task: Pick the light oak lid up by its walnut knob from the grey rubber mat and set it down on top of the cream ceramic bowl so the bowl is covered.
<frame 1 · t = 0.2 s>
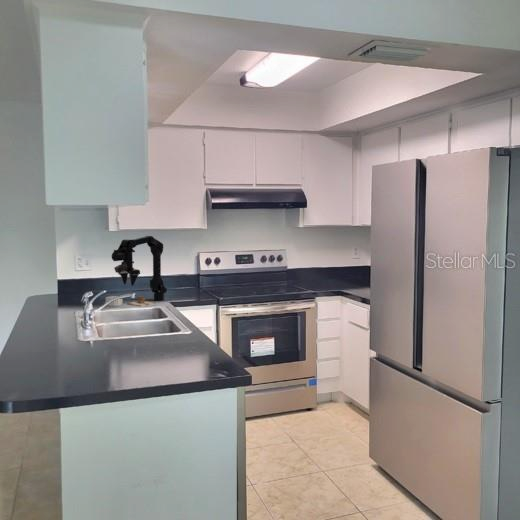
hand: (128, 284, 321), 14 cm above the counter, tool pointing down, fingers open, 9 cm apart
bowl: (114, 305, 329), on the counter
lid: (141, 304, 329), point 1 cm above the counter, touching mat
mat: (141, 304, 329), on the counter
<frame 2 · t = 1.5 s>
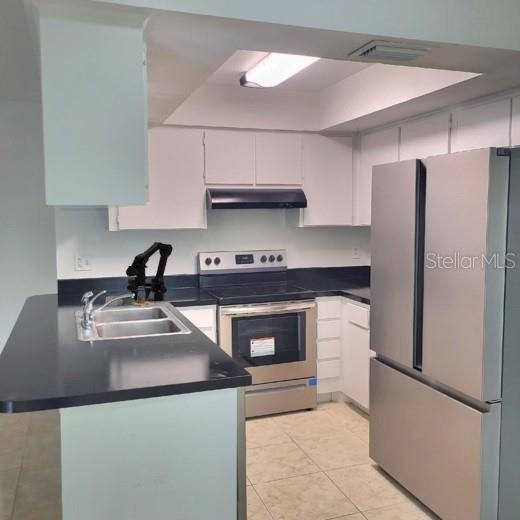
hand: (141, 299, 329), 3 cm above the counter, tool pointing down, fingers open, 9 cm apart
nothing on the counter moved.
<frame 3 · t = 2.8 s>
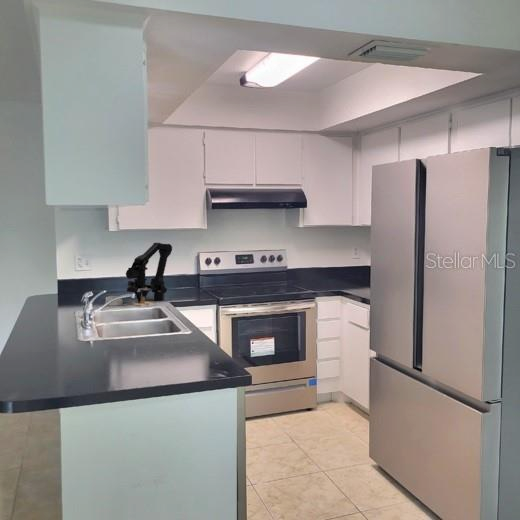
hand: (141, 301, 329), 2 cm above the counter, tool pointing down, fingers closed on lid, 3 cm apart
lid: (141, 304, 329), point 1 cm above the counter, touching gripper, mat
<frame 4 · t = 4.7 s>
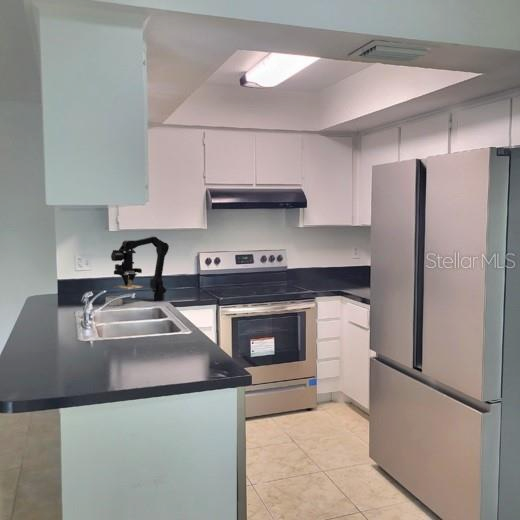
hand: (128, 284, 327), 13 cm above the counter, tool pointing down, fingers closed on lid, 3 cm apart
lid: (128, 287, 328), point 11 cm above the counter, touching gripper
when the fingers open (8 cm above the counter, at t = 6.7 s): lid drops 1 cm, resting on bowl.
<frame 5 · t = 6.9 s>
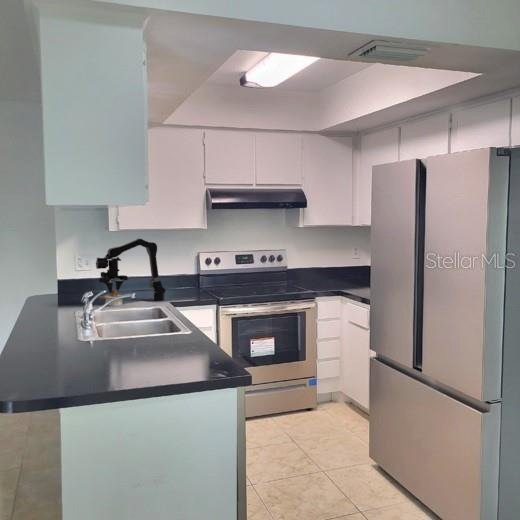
hand: (113, 292, 328), 8 cm above the counter, tool pointing down, fingers open, 5 cm apart
lid: (114, 297, 328), point 5 cm above the counter, touching bowl
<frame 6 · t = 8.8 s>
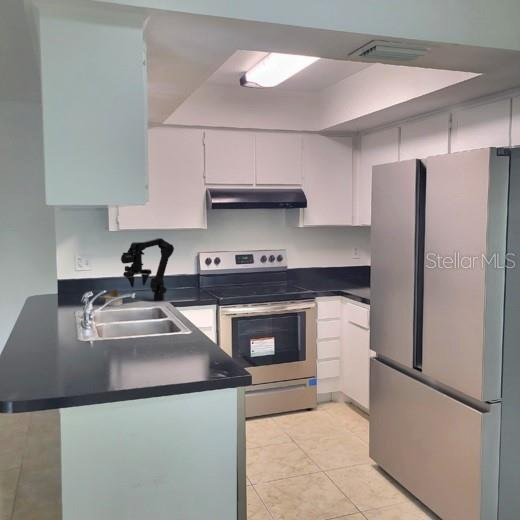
hand: (138, 286, 330), 12 cm above the counter, tool pointing down, fingers open, 9 cm apart
nothing on the counter moved.
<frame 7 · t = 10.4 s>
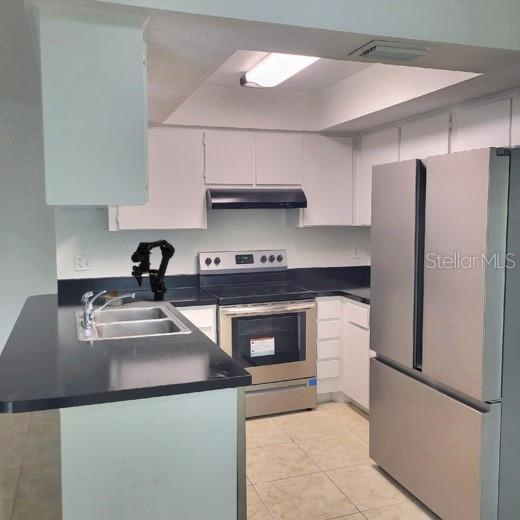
hand: (145, 285, 330), 12 cm above the counter, tool pointing down, fingers open, 9 cm apart
nothing on the counter moved.
at the end: lid 0.1 cm off-centre on the bowl, point 5.0 cm above the bowl's base; lid tilted 0°; the gripper is holding nothing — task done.
